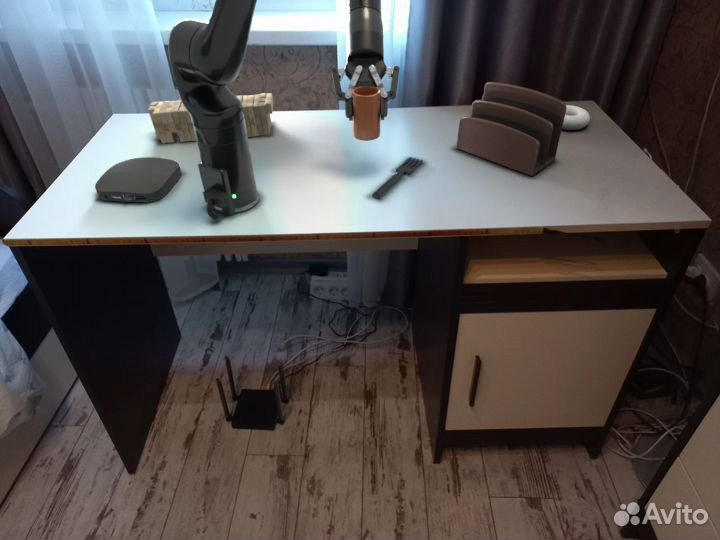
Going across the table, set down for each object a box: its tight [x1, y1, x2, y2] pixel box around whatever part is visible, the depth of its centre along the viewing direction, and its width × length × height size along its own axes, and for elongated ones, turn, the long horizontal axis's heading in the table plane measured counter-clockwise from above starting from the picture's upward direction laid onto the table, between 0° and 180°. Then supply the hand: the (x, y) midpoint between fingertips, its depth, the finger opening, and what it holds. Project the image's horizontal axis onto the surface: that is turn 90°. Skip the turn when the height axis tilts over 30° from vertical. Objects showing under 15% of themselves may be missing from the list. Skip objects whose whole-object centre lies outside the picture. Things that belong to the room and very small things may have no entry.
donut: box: [562, 104, 591, 131], centre depth 125 cm, size 10×4×10 cm
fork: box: [371, 156, 424, 200], centre depth 107 cm, size 18×3×1 cm, turn 149°
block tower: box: [147, 92, 274, 144], centre depth 124 cm, size 8×8×29 cm
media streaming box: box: [94, 156, 182, 203], centre depth 106 cm, size 15×15×3 cm
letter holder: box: [455, 81, 567, 177], centre depth 110 cm, size 10×20×14 cm, turn 46°
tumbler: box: [352, 86, 381, 142], centre depth 102 cm, size 6×6×9 cm
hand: (366, 118), depth 101 cm, fingers closed on tumbler, 5 cm apart
